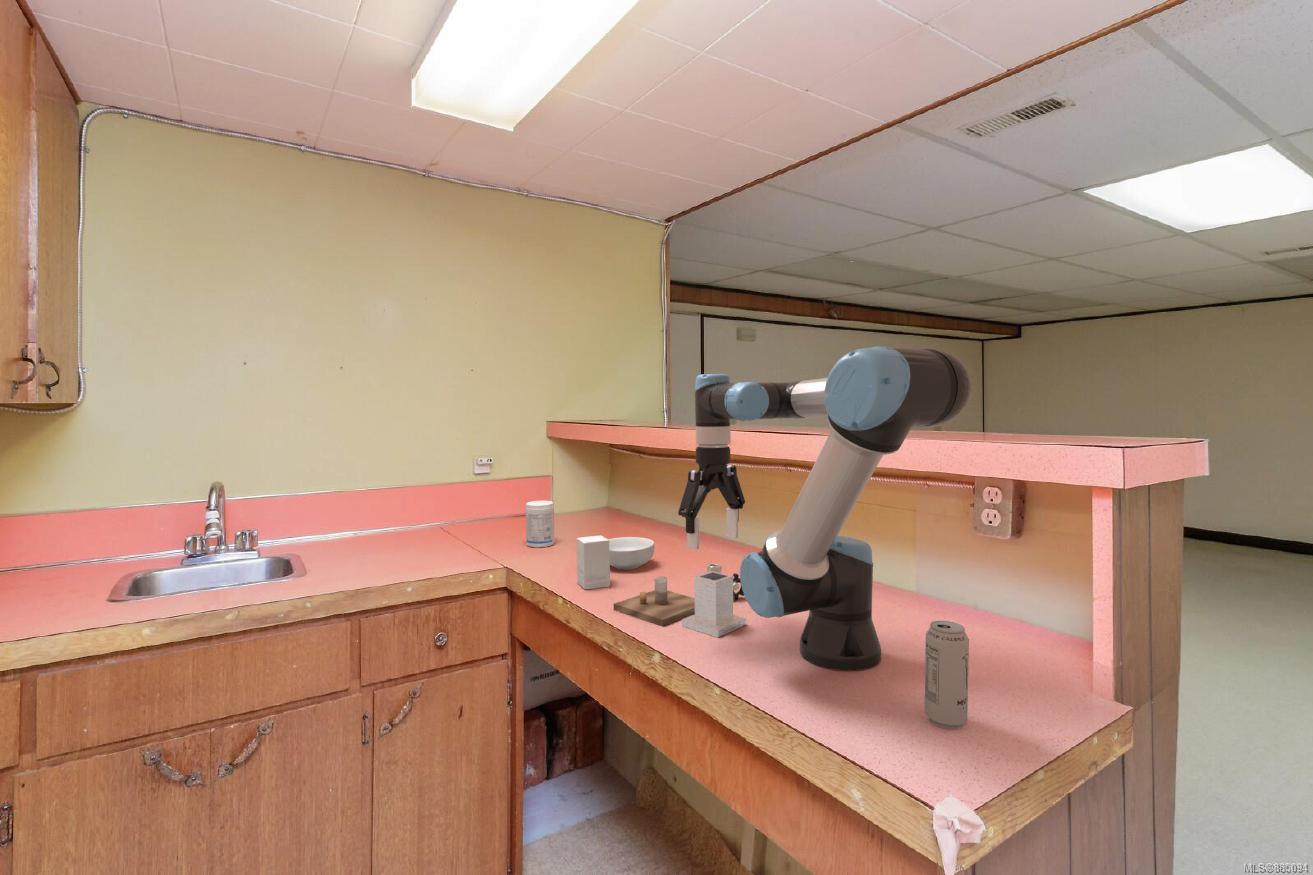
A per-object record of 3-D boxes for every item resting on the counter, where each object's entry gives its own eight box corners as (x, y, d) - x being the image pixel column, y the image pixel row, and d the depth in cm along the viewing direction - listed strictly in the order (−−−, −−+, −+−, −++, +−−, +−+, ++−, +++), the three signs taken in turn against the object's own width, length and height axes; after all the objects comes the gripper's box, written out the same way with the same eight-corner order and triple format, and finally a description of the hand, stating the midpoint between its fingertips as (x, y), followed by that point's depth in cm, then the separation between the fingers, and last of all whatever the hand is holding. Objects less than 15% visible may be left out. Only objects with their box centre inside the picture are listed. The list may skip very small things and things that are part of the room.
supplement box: (610, 587, 168) (610, 540, 168) (583, 590, 166) (583, 542, 165) (602, 579, 175) (602, 534, 174) (576, 582, 172) (575, 537, 172)
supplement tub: (531, 541, 222) (530, 500, 222) (557, 541, 222) (556, 500, 221) (522, 548, 213) (521, 505, 212) (550, 548, 212) (549, 505, 211)
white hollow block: (745, 624, 139) (745, 575, 139) (717, 637, 132) (717, 586, 131) (710, 614, 146) (710, 567, 146) (681, 626, 139) (681, 576, 138)
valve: (699, 589, 165) (726, 602, 155) (699, 565, 165) (726, 576, 154) (720, 586, 169) (747, 598, 158) (720, 561, 168) (747, 572, 158)
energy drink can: (969, 734, 94) (971, 635, 93) (924, 727, 96) (926, 630, 95) (965, 715, 99) (967, 622, 98) (923, 708, 101) (925, 617, 100)
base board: (708, 608, 151) (708, 577, 150) (662, 626, 139) (662, 592, 139) (660, 594, 162) (659, 565, 161) (613, 609, 150) (613, 578, 150)
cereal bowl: (602, 558, 198) (602, 536, 197) (655, 558, 197) (655, 536, 197) (595, 574, 181) (594, 549, 180) (653, 574, 180) (653, 549, 180)
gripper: (733, 441, 148) (734, 530, 150) (660, 448, 130) (661, 550, 132) (760, 443, 143) (760, 535, 144) (688, 450, 125) (689, 556, 127)
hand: (713, 542), depth 138 cm, fingers open, 13 cm apart
